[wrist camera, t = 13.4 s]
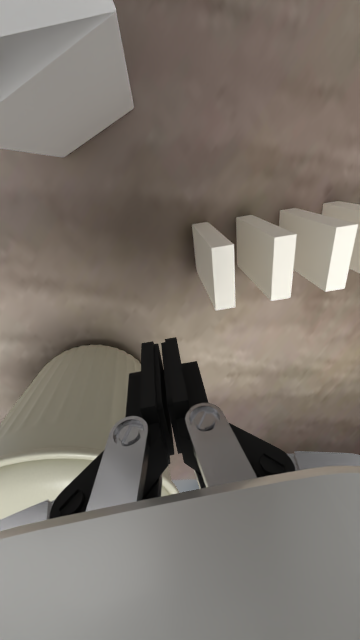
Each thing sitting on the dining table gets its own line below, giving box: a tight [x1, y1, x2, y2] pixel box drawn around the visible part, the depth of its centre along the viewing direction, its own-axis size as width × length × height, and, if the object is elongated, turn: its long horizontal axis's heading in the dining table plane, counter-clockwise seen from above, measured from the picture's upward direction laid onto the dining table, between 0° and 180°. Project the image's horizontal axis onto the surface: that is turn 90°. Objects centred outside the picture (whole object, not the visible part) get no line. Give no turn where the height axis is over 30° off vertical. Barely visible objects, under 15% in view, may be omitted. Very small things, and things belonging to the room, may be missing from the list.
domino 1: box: [192, 222, 235, 310], centre depth 23 cm, size 5×2×9 cm, turn 7°
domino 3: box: [279, 208, 358, 292], centre depth 23 cm, size 5×2×9 cm, turn 7°
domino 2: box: [236, 215, 297, 301], centre depth 23 cm, size 5×2×9 cm, turn 7°
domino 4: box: [322, 201, 360, 273], centre depth 24 cm, size 5×2×9 cm, turn 7°
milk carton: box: [0, 0, 134, 157], centre depth 11 cm, size 7×7×19 cm
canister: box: [0, 344, 179, 520], centre depth 25 cm, size 18×18×21 cm
